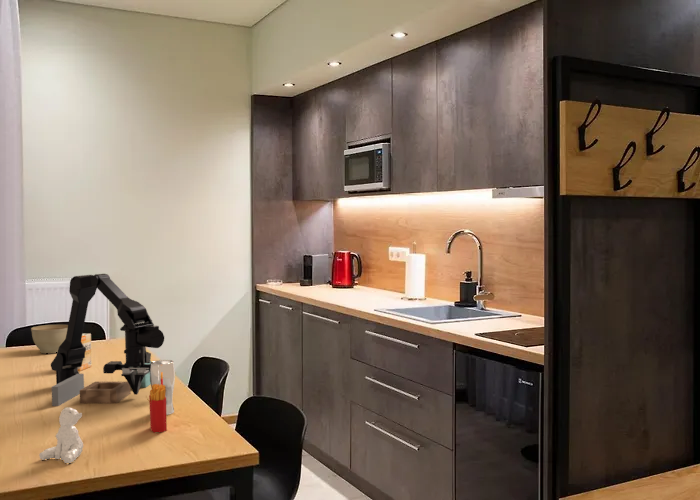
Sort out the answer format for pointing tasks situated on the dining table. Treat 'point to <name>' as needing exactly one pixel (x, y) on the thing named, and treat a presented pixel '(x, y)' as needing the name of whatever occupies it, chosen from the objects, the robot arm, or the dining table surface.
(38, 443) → the dining table surface
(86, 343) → the supplement box
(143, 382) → the pale teal cube
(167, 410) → the beer glass
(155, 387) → the french fries
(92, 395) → the brown square frame
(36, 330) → the planter bowl
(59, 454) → the sitting furry creature
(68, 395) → the slab
